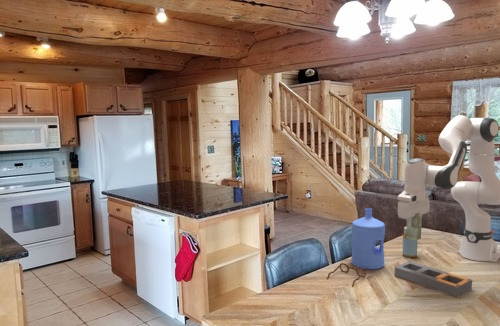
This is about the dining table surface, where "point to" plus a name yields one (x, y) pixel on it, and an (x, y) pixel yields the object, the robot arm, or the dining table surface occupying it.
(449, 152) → the robot arm
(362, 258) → the water jug
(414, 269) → the board
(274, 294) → the dining table surface
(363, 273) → the glasses
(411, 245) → the lidded canister
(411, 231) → the peg
